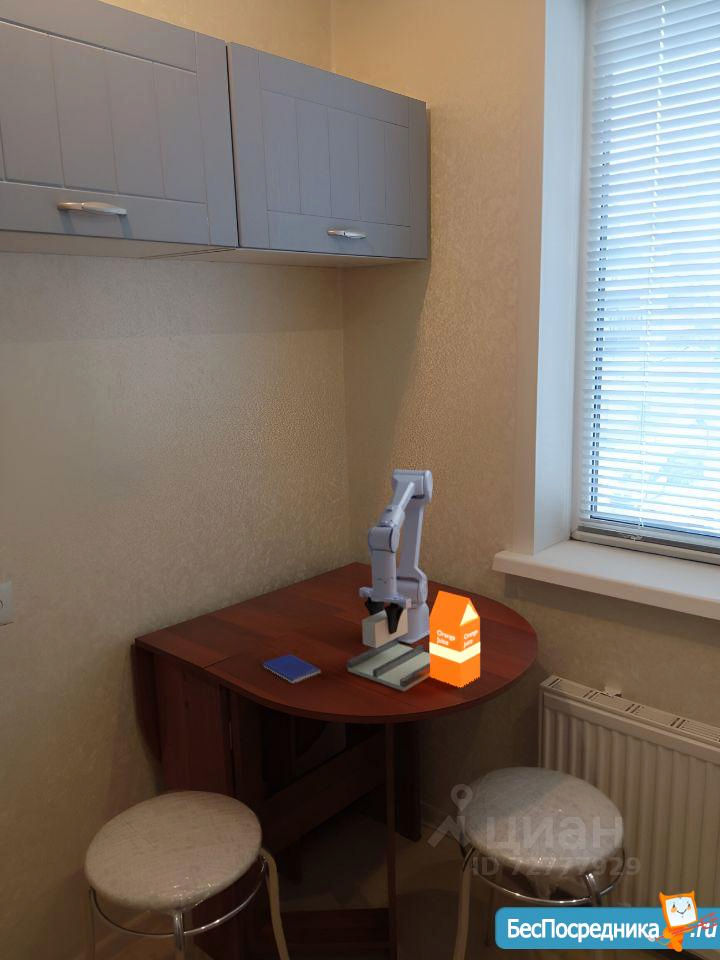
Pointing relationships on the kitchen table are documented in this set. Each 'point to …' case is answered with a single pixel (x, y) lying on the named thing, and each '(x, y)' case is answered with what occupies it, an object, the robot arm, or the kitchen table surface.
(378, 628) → the clay bar
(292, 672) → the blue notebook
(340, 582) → the kitchen table surface
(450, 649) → the orange juice
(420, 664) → the rack
